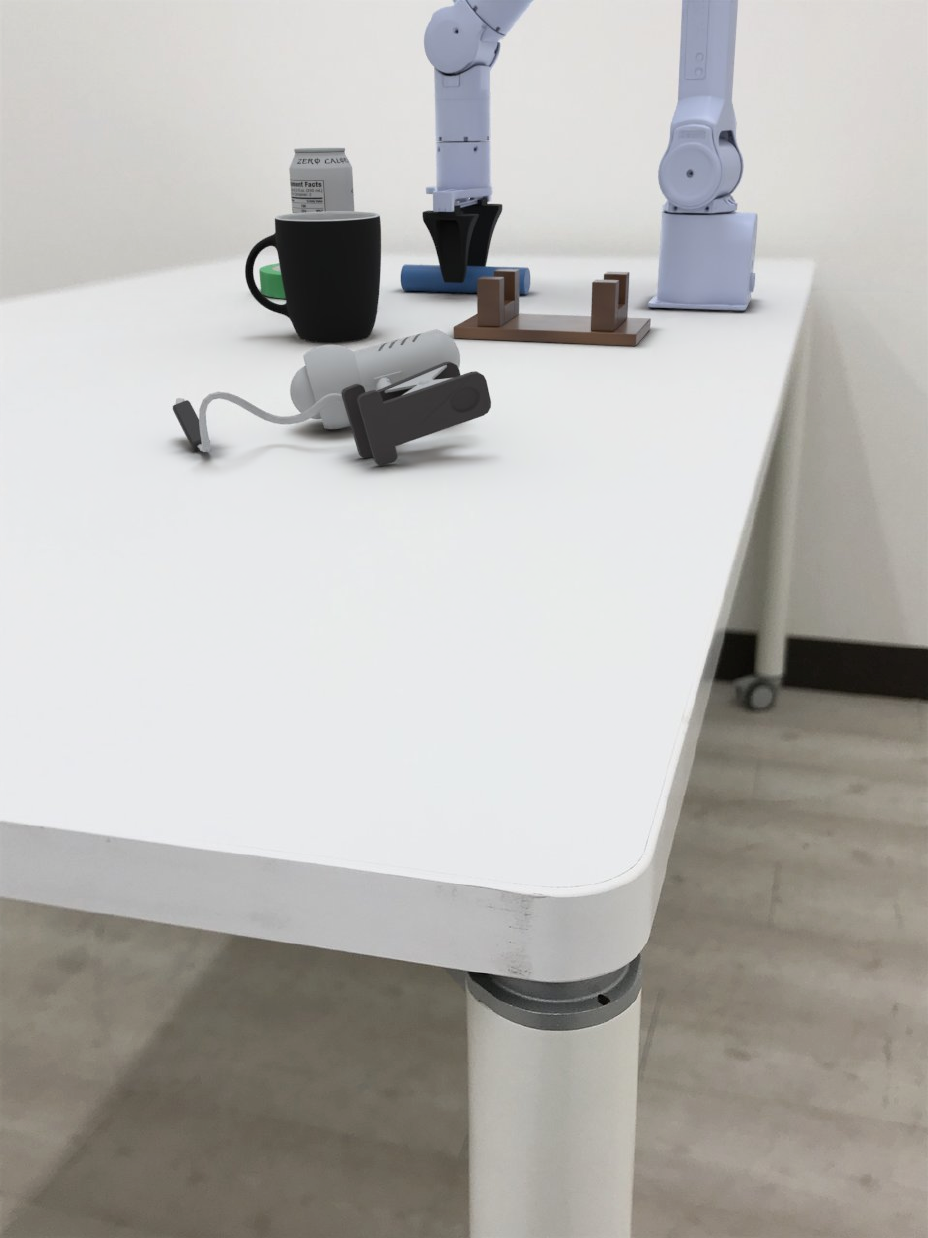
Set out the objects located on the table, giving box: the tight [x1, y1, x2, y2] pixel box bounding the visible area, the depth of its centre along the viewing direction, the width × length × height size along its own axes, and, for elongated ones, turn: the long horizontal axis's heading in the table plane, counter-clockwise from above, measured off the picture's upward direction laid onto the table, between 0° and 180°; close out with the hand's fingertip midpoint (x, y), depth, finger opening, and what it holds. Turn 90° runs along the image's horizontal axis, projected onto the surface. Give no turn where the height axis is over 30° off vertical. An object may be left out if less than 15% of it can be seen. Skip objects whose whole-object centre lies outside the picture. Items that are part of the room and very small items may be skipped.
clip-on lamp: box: [172, 329, 492, 467], centre depth 65 cm, size 12×6×18 cm
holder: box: [453, 269, 652, 347], centre depth 97 cm, size 16×8×5 cm, turn 73°
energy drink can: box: [288, 147, 355, 214], centre depth 109 cm, size 6×6×15 cm
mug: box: [244, 211, 382, 344], centre depth 96 cm, size 12×9×10 cm
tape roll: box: [258, 262, 286, 300], centre depth 123 cm, size 11×11×3 cm
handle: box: [400, 263, 531, 296], centre depth 121 cm, size 14×3×3 cm, turn 73°
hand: (464, 277), depth 121 cm, fingers open, 7 cm apart
